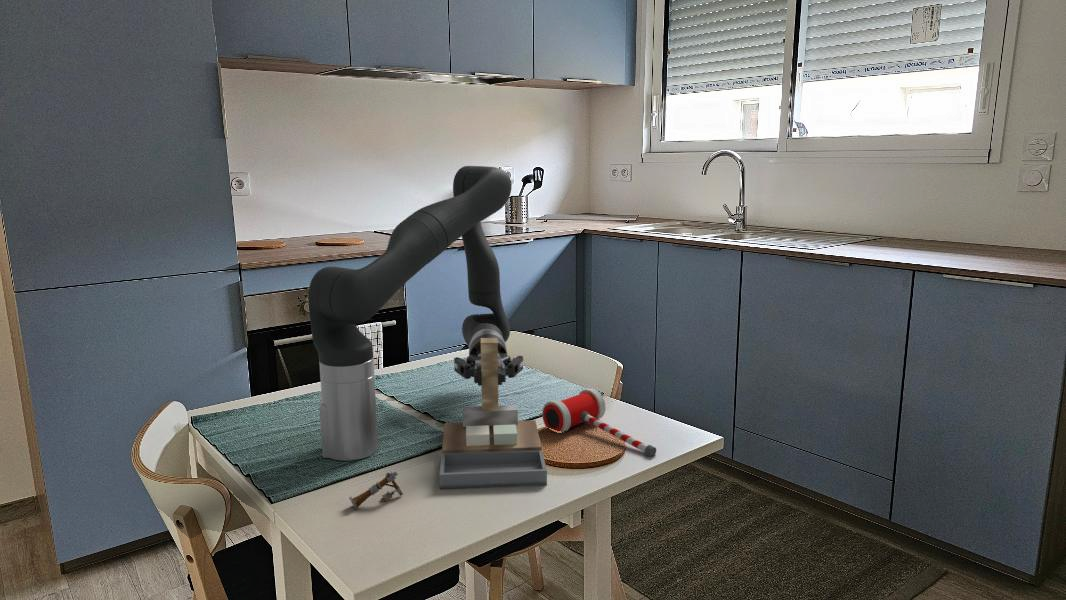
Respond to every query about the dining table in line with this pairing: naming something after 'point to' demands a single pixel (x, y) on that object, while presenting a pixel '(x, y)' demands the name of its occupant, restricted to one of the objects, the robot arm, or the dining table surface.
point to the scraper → (490, 393)
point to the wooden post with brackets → (375, 488)
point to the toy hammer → (585, 416)
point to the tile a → (477, 435)
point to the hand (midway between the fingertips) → (490, 380)
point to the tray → (492, 469)
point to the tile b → (504, 434)
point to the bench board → (490, 439)
